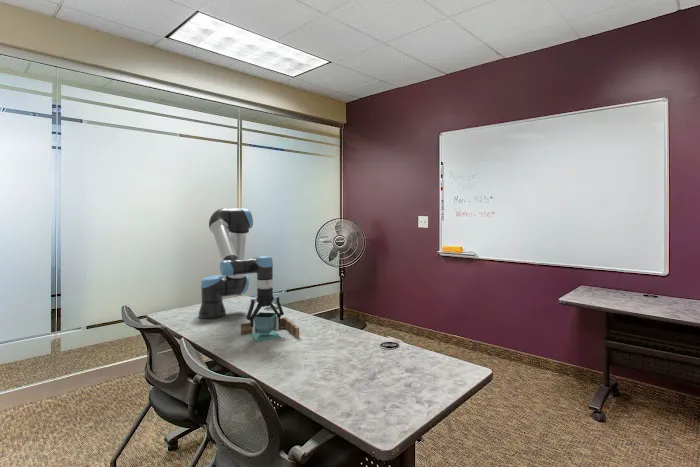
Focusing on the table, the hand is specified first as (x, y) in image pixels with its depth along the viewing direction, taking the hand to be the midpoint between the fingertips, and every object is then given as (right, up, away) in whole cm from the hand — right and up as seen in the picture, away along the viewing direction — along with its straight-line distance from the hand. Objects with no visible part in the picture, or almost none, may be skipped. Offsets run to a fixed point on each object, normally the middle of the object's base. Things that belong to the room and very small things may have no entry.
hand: (265, 331), depth 182 cm
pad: (0, -2, 0) cm, 2 cm away
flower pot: (0, -1, 0) cm, 1 cm away
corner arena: (+2, -2, +1) cm, 3 cm away
